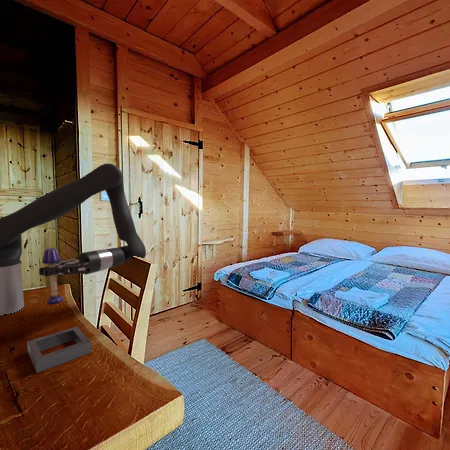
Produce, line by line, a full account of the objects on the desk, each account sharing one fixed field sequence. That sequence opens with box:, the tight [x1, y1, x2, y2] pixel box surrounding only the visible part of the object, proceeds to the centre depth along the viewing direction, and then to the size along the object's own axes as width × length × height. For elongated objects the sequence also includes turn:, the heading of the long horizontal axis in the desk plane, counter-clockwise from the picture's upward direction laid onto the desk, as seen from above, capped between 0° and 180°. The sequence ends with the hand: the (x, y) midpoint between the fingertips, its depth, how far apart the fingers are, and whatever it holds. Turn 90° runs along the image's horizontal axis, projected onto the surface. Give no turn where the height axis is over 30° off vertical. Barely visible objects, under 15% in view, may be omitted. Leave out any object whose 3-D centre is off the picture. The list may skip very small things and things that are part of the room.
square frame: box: [26, 326, 92, 374], centre depth 71 cm, size 12×12×3 cm
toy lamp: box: [42, 247, 64, 305], centre depth 83 cm, size 5×5×17 cm
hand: (42, 272), depth 80 cm, fingers closed on toy lamp
